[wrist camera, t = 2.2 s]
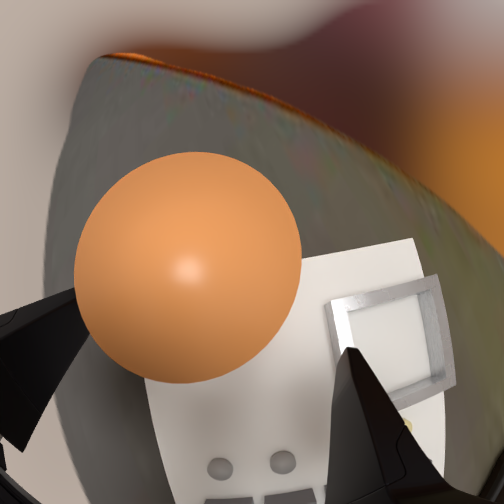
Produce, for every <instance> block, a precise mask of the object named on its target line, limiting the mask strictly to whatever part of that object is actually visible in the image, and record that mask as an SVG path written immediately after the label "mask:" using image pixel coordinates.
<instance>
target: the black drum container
mask: <svg viewBox="0 0 504 504" xmlns="http://www.w3.org/2000/svg"><path fill="white" fill-rule="evenodd" d="M480 498H483V499H486V500H489V501H493V502H496V503H504V453H503V454H502V455H501V457H500V458H499V459H498V462H497V464H496V466H495V468H494V470H493V472H492V474H491V476H490V478H489V480H488V482H487V484H486V486H485V488H484V490H483V492H482V493H481V495H480Z"/></svg>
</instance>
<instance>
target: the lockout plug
mask: <svg viewBox="0 0 504 504" xmlns="http://www.w3.org/2000/svg"><path fill="white" fill-rule="evenodd" d="M301 266H302V257H301V244H300V237H299V232H298V229H297V226H296V222H295V219H294V217H293V215H292V212H291V210H290V208H289V206H288V204H287V203H286V201H285V200H284V198H283V197H282V195H281V194H280V192H279V191H278V190H277V189H276V188H275V187H274V185H273V184H272V183H271V182H270V181H269V180H268V179H267V178H265V177H264V176H263V175H262V174H261V173H259V172H258V171H256V170H255V169H253V168H252V167H250V166H248V165H247V164H245V163H242V162H240V161H238V160H236V159H233V158H230V157H227V156H223V155H219V154H213V153H206V152H187V153H178V154H173V155H168V156H165V157H161V158H158V159H155V160H153V161H150V162H148V163H146V164H144V165H142V166H140V167H138V168H136V169H135V170H133V171H131V172H130V173H129V174H127V175H126V176H124V177H123V178H122V179H120V180H119V181H118V182H117V183H116V184H115V185H114V186H113V187H111V188H110V190H109V191H108V192H107V193H106V194H105V195H104V196H103V197H102V199H101V200H100V201H99V203H98V204H97V205H96V207H95V208H94V210H93V211H92V213H91V215H90V217H89V218H88V220H87V222H86V225H85V227H84V229H83V231H82V234H81V237H80V240H79V244H78V247H77V252H76V258H75V267H74V284H75V293H76V299H77V303H78V307H79V310H80V313H81V316H82V318H83V320H84V323H85V325H86V327H87V329H88V331H89V332H90V334H91V336H92V337H93V339H94V340H95V341H96V343H97V344H98V345H99V346H100V348H101V349H102V350H103V351H104V352H105V353H106V354H107V355H108V356H109V357H110V358H111V359H113V360H114V361H115V362H116V363H118V364H119V365H121V366H122V367H124V368H125V369H127V370H128V371H131V372H133V373H135V374H137V375H139V376H141V377H144V378H147V379H151V380H154V381H158V382H165V383H172V384H189V383H196V382H202V381H207V380H210V379H214V378H217V377H220V376H223V375H225V374H227V373H229V372H231V371H233V370H235V369H237V368H239V367H241V366H242V365H244V364H245V363H246V362H248V361H249V360H251V359H252V358H254V357H255V356H256V355H257V354H258V353H259V352H260V351H261V350H262V349H264V348H265V347H266V346H267V345H268V343H269V342H270V341H271V340H272V339H273V337H274V336H275V335H276V334H277V332H278V331H279V330H280V328H281V326H282V325H283V323H284V321H285V320H286V318H287V316H288V314H289V312H290V310H291V307H292V305H293V303H294V300H295V297H296V294H297V290H298V286H299V282H300V275H301Z"/></svg>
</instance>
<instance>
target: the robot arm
mask: <svg viewBox="0 0 504 504" xmlns="http://www.w3.org/2000/svg"><path fill="white" fill-rule="evenodd" d="M89 334H90V332H89V331H88V329H87V327H86V325H85V323H84V320H83V318H82V316H81V313H80V310H79V307H78V303H77V299H76V293H75V287H74V288H71V289H69V290H66V291H63V292H60V293H58V294H55V295H52V296H50V297H47V298H44V299H42V300H39V301H36V302H34V303H31V304H28V305H26V306H23V307H20V308H19V309H15V310H13V311H10V312H7V313H5V314H2V315H0V440H1V439H2V437H4V438H5V439H6V440H7V441H9V442H10V443H11V444H12V445H13V446H14V447H16V448H17V449H18V450H19V451H21V452H23V451H24V450H25V448H26V446H27V443H28V441H29V439H30V437H31V435H32V433H33V431H34V429H35V427H36V425H37V423H38V421H39V419H40V417H41V416H42V414H43V412H44V410H45V408H46V406H47V404H48V402H49V401H50V399H51V397H52V395H53V393H54V392H55V390H56V388H57V386H58V385H59V383H60V381H61V380H62V378H63V376H64V375H65V373H66V371H67V370H68V368H69V366H70V365H71V363H72V361H73V360H74V358H75V357H76V355H77V353H78V352H79V350H80V349H81V347H82V345H83V344H84V342H85V341H86V339H87V338H88V336H89ZM6 470H7V468H6V463H5V457H4V451H3V445H2V444H1V443H0V504H41V503H40V502H39V501H37V500H36V499H35V498H34V497H32V496H31V495H30V494H29V493H28V492H26V491H25V490H24V489H23V488H22V487H21V486H20V485H18V484H17V483H16V482H15V481H14V480H13V479H12V478H11V477H10V476H9V475H8V474H7V473H6V472H5V471H6ZM325 504H504V503H496V502H493V501H489V500H486V499H483V498H480V497H477V496H474V495H471V494H468V493H465V492H463V491H460V490H457V489H455V488H454V487H452V486H451V485H449V484H448V483H447V482H446V481H445V480H444V478H443V477H442V476H441V474H440V473H439V472H438V470H437V469H436V468H435V466H434V465H433V464H432V462H431V461H430V460H429V458H428V457H427V456H426V454H425V453H424V451H423V450H422V449H421V447H420V446H419V444H418V443H417V441H416V440H415V438H414V436H413V435H412V433H411V432H410V430H409V428H408V427H407V425H405V422H404V420H403V419H402V417H401V415H400V414H399V412H398V410H397V409H396V407H395V405H394V404H393V402H392V401H391V399H390V397H389V396H388V394H387V393H386V391H385V389H384V388H383V386H382V385H381V383H380V381H379V380H378V378H377V377H376V375H375V374H374V372H373V370H372V369H371V367H370V366H369V364H368V363H367V361H366V360H365V358H364V356H363V355H362V353H361V352H360V350H359V349H358V348H354V347H346V348H345V349H344V351H343V353H342V355H341V357H340V359H339V361H338V363H337V367H336V375H335V383H334V390H333V397H332V405H331V426H330V447H329V463H328V476H327V487H326V497H325Z"/></svg>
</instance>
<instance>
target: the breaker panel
mask: <svg viewBox="0 0 504 504" xmlns="http://www.w3.org/2000/svg"><path fill="white" fill-rule="evenodd" d="M421 278H424V275H423V271H422V268H421V264H420V260H419V257H418V254H417V250H416V247H415V244H414V241H413V238H410V239H405V240H399V241H394V242H389V243H384V244H379V245H374V246H369V247H363V248H358V249H353V250H348V251H342V252H337V253H332V254H326V255H321V256H315V257H310V258H305V259H302V266H301V275H300V282H299V286H298V290H297V294H296V297H295V300H294V303H293V305H292V307H291V310H290V312H289V314H288V316H287V318H286V320H285V321H284V323H283V325H282V326H281V328H280V330H279V331H278V332H277V334H276V335H275V336H274V337H273V339H272V340H271V341H270V342H269V343H268V345H267V346H266V347H265V348H264V349H262V350H261V351H260V352H259V353H258V354H257V355H256V356H255V357H254V358H252V359H251V360H249V361H248V362H246V363H245V364H244V365H242V366H241V367H239V368H237V369H235V370H233V371H231V372H229V373H227V374H225V375H223V376H220V377H217V378H214V379H210V380H207V381H202V382H196V383H189V384H172V383H165V382H158V381H154V380H151V379H147V378H144V379H145V385H146V391H147V396H148V402H149V407H150V412H151V416H152V421H153V426H154V430H155V434H156V438H157V442H158V446H159V450H160V454H161V458H162V461H163V465H164V468H165V472H166V475H167V478H168V482H169V485H170V488H171V491H172V494H173V497H174V500H175V503H176V504H325V497H326V487H327V476H328V463H329V447H330V426H331V405H332V397H333V390H334V383H335V375H336V367H335V361H334V355H333V350H332V344H331V339H330V333H329V328H328V323H327V318H326V313H325V308H324V305H325V304H326V303H328V302H329V301H332V300H336V299H341V298H345V297H349V296H354V295H358V294H362V293H367V292H371V291H375V290H379V289H383V288H387V287H391V286H395V285H398V284H402V283H406V282H410V281H413V280H417V279H421ZM347 314H348V319H349V324H350V329H351V334H352V339H353V345H354V348H358V349H359V350H360V352H361V353H362V355H363V356H364V358H365V360H366V361H367V363H368V364H369V366H370V367H371V369H372V370H373V372H374V374H375V375H376V377H377V378H378V380H379V381H380V383H381V385H382V386H383V388H384V389H385V391H386V393H389V392H392V391H395V390H398V389H400V388H403V387H406V386H408V385H411V384H413V383H416V382H418V381H420V380H423V379H425V378H427V377H430V376H431V372H430V364H429V356H428V350H427V343H426V337H425V332H424V326H423V321H422V316H421V311H420V306H419V302H418V297H417V294H416V295H412V296H409V297H405V298H402V299H398V300H395V301H391V302H388V303H384V304H380V305H376V306H372V307H369V308H365V309H361V310H357V311H353V312H348V313H347ZM398 412H399V414H400V415H401V417H402V419H403V420H404V422H405V425H407V427H408V428H409V430H410V432H411V433H412V435H413V436H414V438H415V440H416V441H417V443H418V444H419V446H420V447H421V449H422V450H423V451H424V453H425V454H426V456H427V457H428V458H429V460H430V461H431V462H432V464H433V465H434V466H435V468H436V469H437V470H438V472H439V473H440V474H441V476H442V477H443V475H444V461H445V407H444V391H443V392H441V393H439V394H437V395H434V396H432V397H430V398H428V399H426V400H424V401H421V402H419V403H417V404H414V405H412V406H410V407H407V408H405V409H402V410H400V411H398Z"/></svg>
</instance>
